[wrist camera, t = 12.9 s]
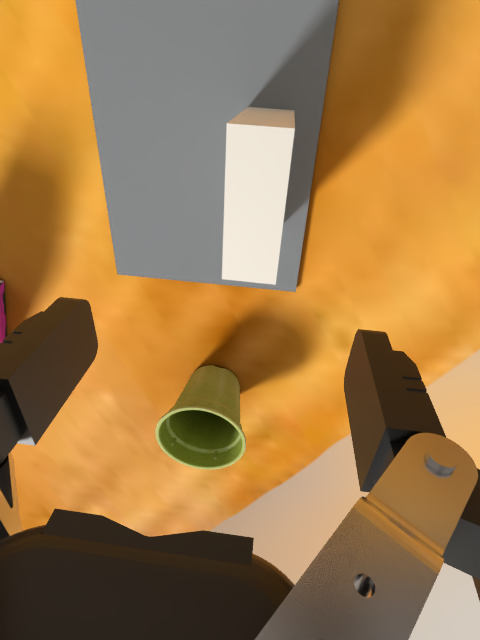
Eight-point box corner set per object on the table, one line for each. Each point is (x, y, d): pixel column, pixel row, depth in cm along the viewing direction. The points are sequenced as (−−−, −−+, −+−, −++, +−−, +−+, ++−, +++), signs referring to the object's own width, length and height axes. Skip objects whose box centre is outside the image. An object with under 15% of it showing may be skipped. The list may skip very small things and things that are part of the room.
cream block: (248, 106, 28) (226, 123, 19) (294, 110, 28) (294, 128, 19) (241, 222, 33) (221, 279, 24) (280, 226, 33) (275, 284, 24)
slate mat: (77, -13, 26) (73, -15, 25) (338, -2, 25) (339, -4, 24) (119, 271, 38) (117, 274, 38) (295, 288, 37) (295, 291, 36)
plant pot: (161, 370, 45) (136, 427, 38) (223, 340, 42) (209, 396, 34) (207, 418, 49) (192, 478, 42) (268, 394, 45) (263, 455, 38)
